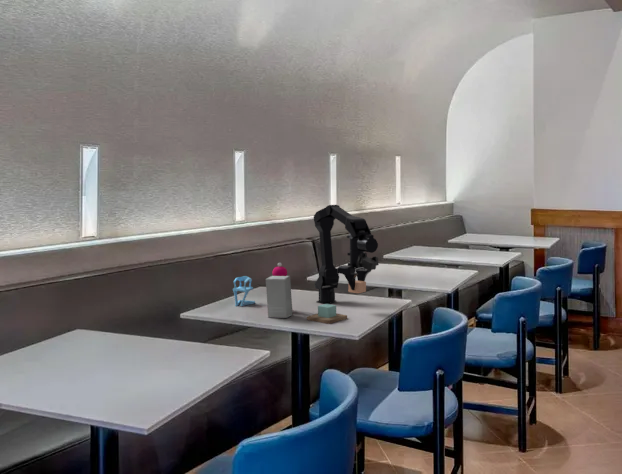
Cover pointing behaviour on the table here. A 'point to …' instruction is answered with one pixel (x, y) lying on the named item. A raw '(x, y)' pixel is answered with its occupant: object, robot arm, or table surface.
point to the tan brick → (358, 287)
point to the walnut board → (327, 320)
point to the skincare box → (279, 296)
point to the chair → (243, 289)
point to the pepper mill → (279, 270)
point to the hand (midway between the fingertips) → (357, 289)
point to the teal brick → (327, 310)
